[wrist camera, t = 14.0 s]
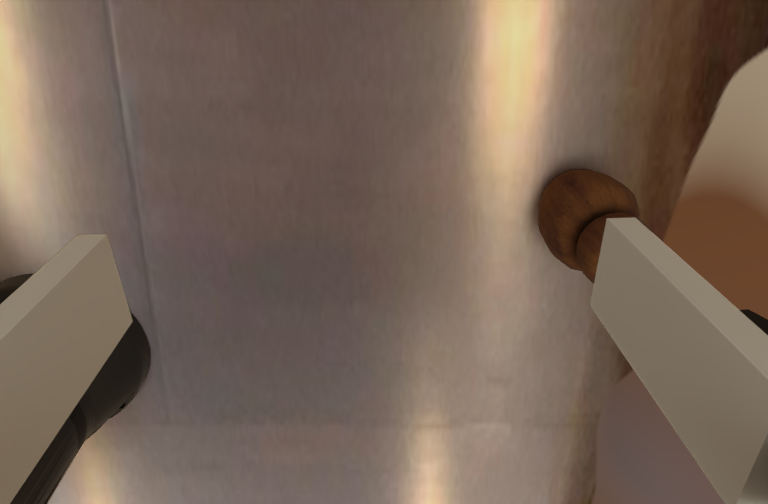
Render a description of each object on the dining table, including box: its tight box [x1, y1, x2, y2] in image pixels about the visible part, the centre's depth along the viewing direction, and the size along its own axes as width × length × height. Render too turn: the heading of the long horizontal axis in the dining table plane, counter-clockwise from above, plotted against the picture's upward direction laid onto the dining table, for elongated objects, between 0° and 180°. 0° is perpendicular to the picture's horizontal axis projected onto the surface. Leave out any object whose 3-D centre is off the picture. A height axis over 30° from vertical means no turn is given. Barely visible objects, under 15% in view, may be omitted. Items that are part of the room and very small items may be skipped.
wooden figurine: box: [538, 169, 653, 283], centre depth 36 cm, size 7×6×15 cm
